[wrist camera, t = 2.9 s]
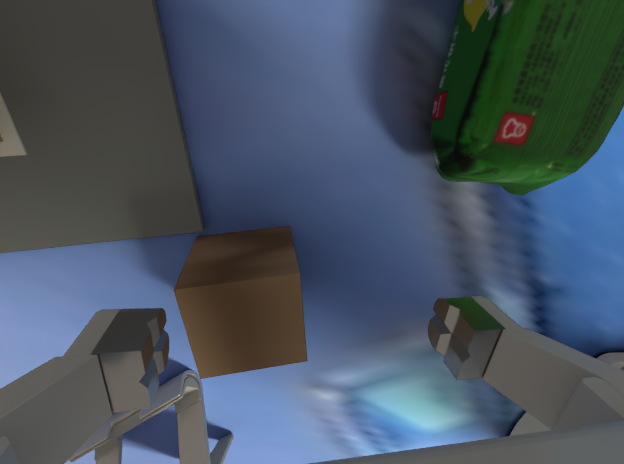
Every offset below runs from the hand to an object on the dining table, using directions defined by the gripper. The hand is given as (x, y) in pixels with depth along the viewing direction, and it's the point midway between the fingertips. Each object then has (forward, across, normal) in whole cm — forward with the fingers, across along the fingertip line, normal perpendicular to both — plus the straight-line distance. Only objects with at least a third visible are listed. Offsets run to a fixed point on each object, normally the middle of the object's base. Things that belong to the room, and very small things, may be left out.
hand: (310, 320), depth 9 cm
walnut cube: (+8, +2, +3) cm, 9 cm away
